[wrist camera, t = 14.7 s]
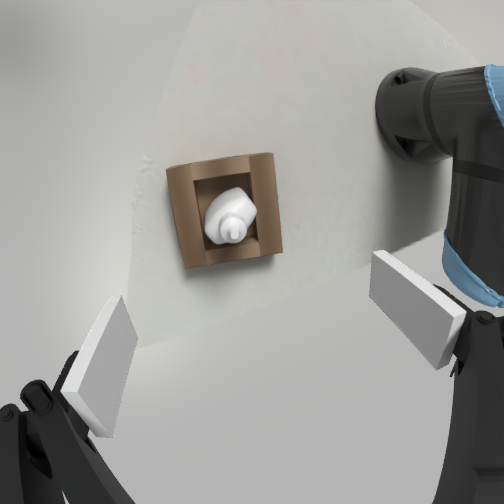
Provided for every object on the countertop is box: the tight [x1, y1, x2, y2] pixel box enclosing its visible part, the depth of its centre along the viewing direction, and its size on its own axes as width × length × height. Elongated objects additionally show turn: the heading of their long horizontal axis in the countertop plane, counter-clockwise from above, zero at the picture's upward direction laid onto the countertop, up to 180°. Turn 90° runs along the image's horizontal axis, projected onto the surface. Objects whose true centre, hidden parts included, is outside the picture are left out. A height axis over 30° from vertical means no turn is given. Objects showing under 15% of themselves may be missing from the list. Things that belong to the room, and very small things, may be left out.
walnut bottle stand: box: [166, 153, 283, 269], centre depth 34 cm, size 12×12×4 cm
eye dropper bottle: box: [205, 187, 257, 244], centre depth 29 cm, size 4×6×12 cm
